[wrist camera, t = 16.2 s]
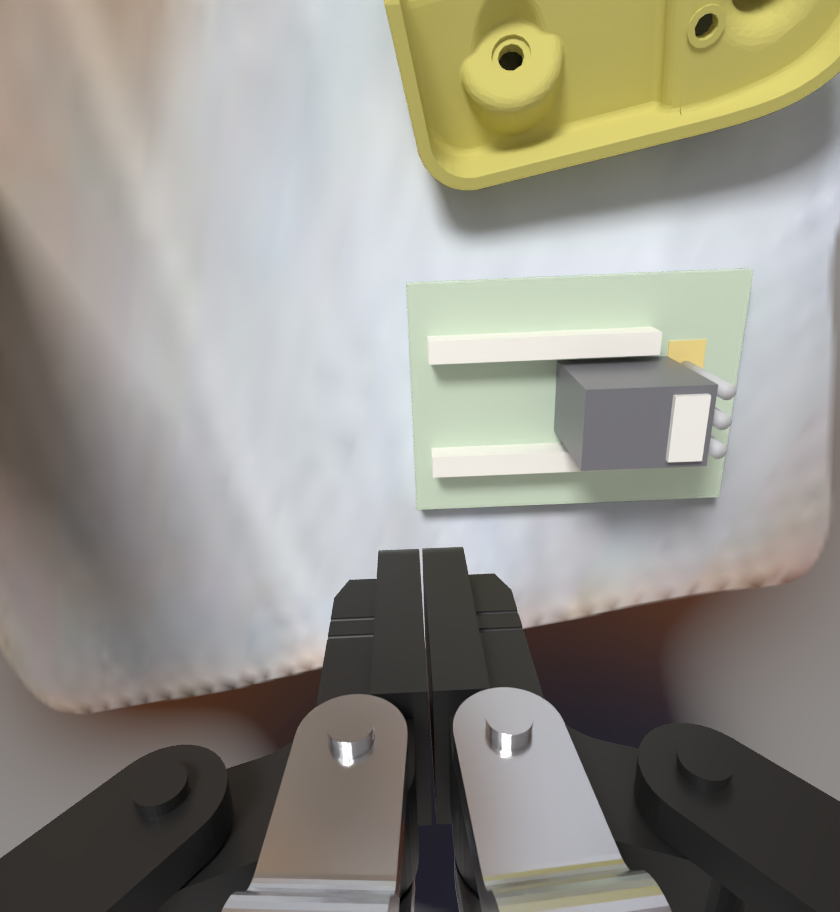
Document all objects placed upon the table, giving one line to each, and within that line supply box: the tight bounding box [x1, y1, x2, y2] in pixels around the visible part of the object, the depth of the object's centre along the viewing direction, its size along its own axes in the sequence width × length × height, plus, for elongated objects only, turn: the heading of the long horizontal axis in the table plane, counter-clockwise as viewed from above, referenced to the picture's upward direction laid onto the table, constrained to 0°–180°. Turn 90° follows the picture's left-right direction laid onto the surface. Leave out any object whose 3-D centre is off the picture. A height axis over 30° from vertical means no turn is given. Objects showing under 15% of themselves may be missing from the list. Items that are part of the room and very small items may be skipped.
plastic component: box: [384, 0, 840, 190], centre depth 27 cm, size 20×7×10 cm
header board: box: [406, 268, 753, 510], centre depth 33 cm, size 18×13×6 cm
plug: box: [554, 356, 718, 471], centre depth 31 cm, size 6×4×6 cm, turn 92°
